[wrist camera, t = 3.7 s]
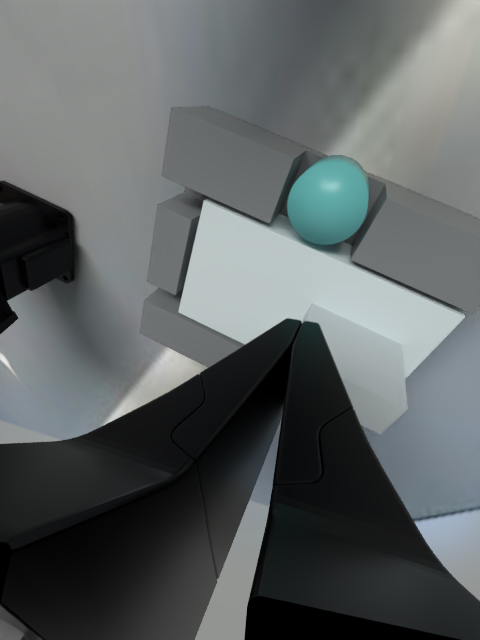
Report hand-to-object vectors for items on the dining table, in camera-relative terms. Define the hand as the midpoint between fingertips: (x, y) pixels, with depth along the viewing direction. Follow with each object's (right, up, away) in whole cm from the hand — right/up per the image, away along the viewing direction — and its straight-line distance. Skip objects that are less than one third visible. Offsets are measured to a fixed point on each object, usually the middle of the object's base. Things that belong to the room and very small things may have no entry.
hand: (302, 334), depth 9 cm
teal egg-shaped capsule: (+3, +7, +8) cm, 11 cm away
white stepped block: (+2, +2, +11) cm, 12 cm away
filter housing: (+2, +3, +12) cm, 13 cm away
